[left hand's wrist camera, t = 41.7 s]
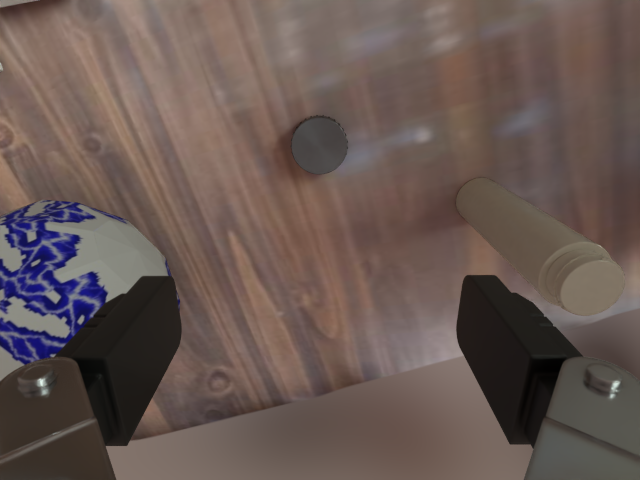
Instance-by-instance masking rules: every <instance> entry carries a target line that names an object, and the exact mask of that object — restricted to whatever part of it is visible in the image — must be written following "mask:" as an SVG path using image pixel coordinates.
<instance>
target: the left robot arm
mask: <svg viewBox="0 0 640 480" xmlns="http://www.w3.org/2000/svg"><path fill="white" fill-rule="evenodd" d="M456 331H457V339H458V344H459V346H460V348H461V350H462V352H463V354H464V356H465V358H466V360H467V362H468V364H469V366H470V368H471V370H472V372H473V374H474V376H475V378H476V379H477V381H478V383H479V385H480V387H481V389H482V391H483V393H484V395H485V397H486V399H487V401H488V403H489V405H490V407H491V409H492V410H493V412H494V414H495V416H496V418H497V420H498V422H499V424H500V426H501V428H502V430H503V432H504V434H505V436H506V438H507V440H508V442H509V443H510V444H531V446H532V448H533V453H532V456H531V459H530V462H529V465H528V468H527V471H526V474H525V477H524V480H640V381H639V380H638V379H637V378H636V377H634V376H633V375H632V374H630V373H629V372H627V371H626V370H624V369H622V368H621V367H619V366H616V365H614V364H612V363H609V362H606V361H603V360H600V359H596V358H590V357H583V356H582V355H581V354H580V352H579V351H578V350H577V349H576V348H575V347H574V346H573V345H572V344H571V343H570V342H569V341H568V340H567V339H566V337H565V336H564V335H563V334H562V333H561V332H560V331H559V330H558V329H557V328H556V327H553V324H552V323H551V321H550V320H549V319H548V318H547V317H544V314H543V313H542V312H541V311H540V310H539V309H538V308H537V307H536V306H535V304H534V303H532V302H531V301H529V300H527V299H526V298H524V297H522V296H520V295H519V294H517V293H511V292H510V291H509V290H508V289H507V287H506V286H505V285H504V284H503V283H502V282H501V281H500V279H499V278H498V277H497V276H495V275H467V276H465V278H464V280H463V284H462V291H461V298H460V305H459V311H458V318H457V327H456ZM180 340H181V320H180V313H179V306H178V299H177V293H176V286H175V282H174V279H173V277H172V276H142V277H140V278H139V280H138V281H137V282H136V283H135V284H134V285H133V286H132V287H131V289H130V290H129V291H128V292H127V293H122V294H120V295H118V296H116V297H115V298H113V299H111V300H110V301H108V302H106V303H104V305H103V306H102V307H101V308H100V309H99V310H98V311H97V312H96V313H95V314H94V315H93V318H90V319H89V320H88V321H87V322H86V324H85V325H84V328H81V329H80V330H79V331H78V332H77V333H76V334H75V335H74V336H73V337H72V338H71V339H70V340H69V341H68V343H67V344H66V345H65V346H64V347H63V348H62V349H61V350H60V351H59V352H58V353H57V354H56V355H55V356H54V357H50V358H44V359H40V360H37V361H33V362H31V363H28V364H26V365H24V366H21V367H19V368H18V369H16V370H14V371H13V372H11V373H10V374H8V375H7V376H6V377H4V378H3V379H2V380H1V381H0V480H116V477H115V474H114V471H113V468H112V465H111V462H110V459H109V456H108V453H107V449H106V446H127V445H128V443H129V441H130V439H131V437H132V435H133V433H134V431H135V429H136V428H137V426H138V424H139V422H140V420H141V418H142V416H143V414H144V412H145V410H146V408H147V406H148V405H149V403H150V401H151V399H152V397H153V395H154V393H155V391H156V389H157V387H158V385H159V383H160V382H161V380H162V378H163V376H164V374H165V372H166V370H167V368H168V366H169V364H170V362H171V360H172V359H173V357H174V355H175V353H176V351H177V349H178V347H179V344H180Z"/></svg>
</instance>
